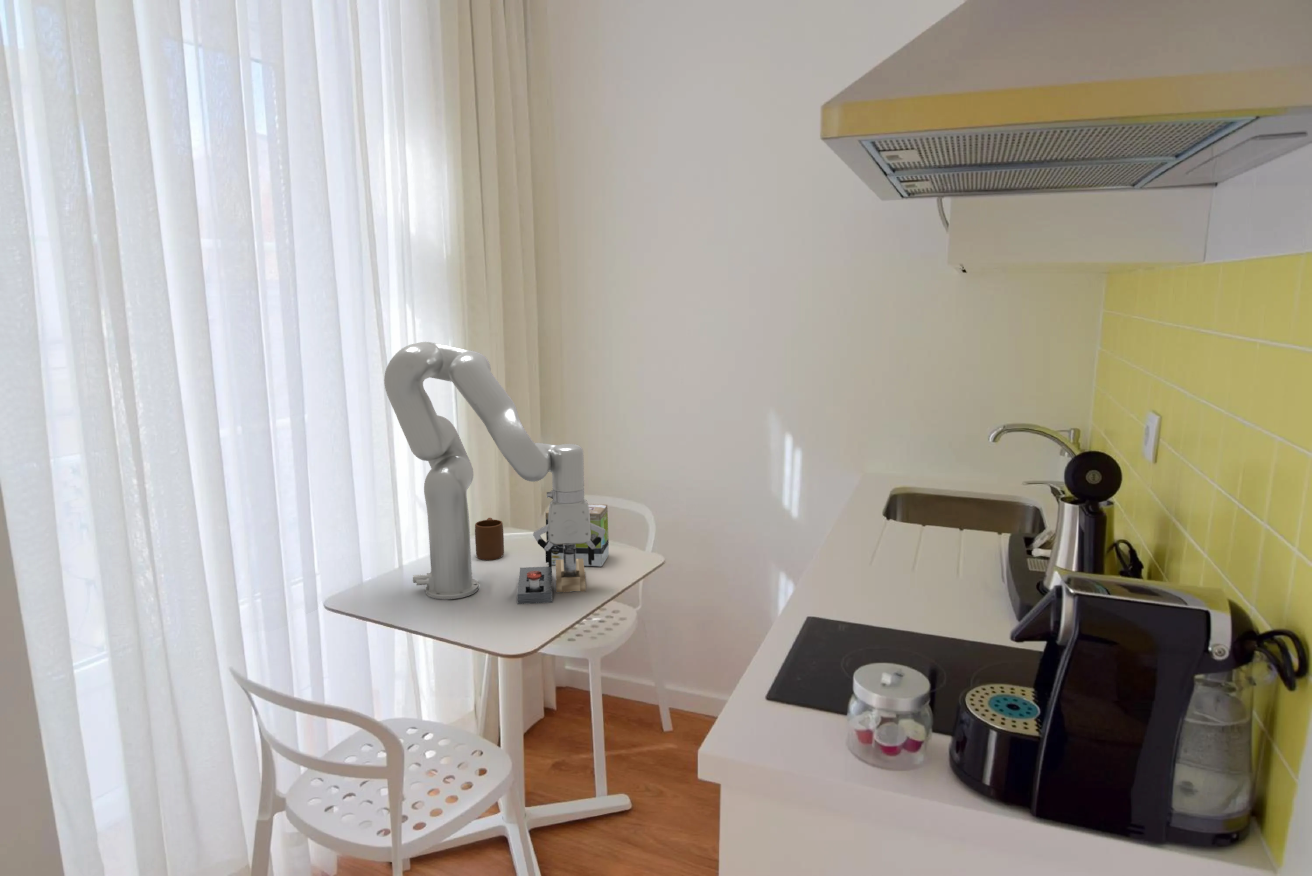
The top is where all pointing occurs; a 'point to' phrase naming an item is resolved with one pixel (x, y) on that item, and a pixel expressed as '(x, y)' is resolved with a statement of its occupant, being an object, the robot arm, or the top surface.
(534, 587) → the red topped peg
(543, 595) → the socket block
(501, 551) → the mug
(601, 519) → the tea box
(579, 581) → the rack
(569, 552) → the grey metal cylinder
